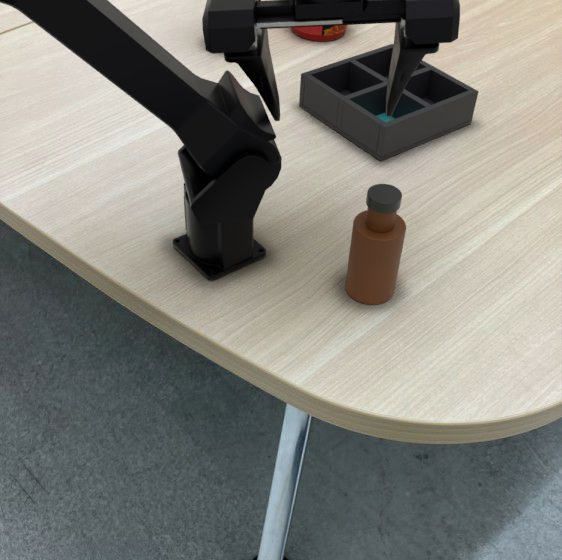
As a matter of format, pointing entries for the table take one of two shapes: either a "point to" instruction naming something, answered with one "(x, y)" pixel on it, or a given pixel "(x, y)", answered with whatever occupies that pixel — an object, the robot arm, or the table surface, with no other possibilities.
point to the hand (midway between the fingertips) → (332, 116)
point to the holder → (372, 103)
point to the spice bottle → (376, 247)
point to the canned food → (320, 32)
